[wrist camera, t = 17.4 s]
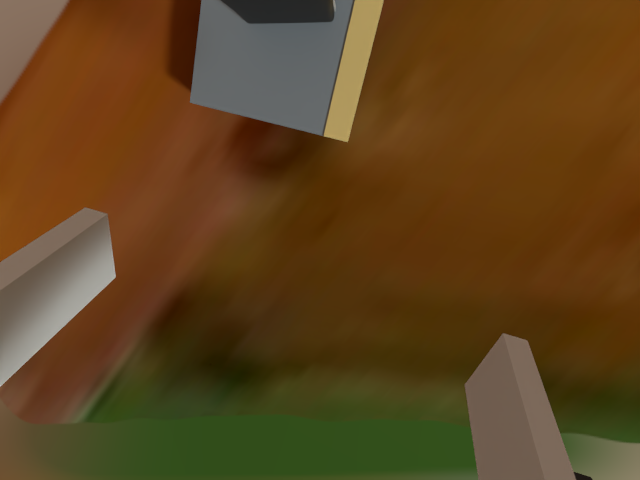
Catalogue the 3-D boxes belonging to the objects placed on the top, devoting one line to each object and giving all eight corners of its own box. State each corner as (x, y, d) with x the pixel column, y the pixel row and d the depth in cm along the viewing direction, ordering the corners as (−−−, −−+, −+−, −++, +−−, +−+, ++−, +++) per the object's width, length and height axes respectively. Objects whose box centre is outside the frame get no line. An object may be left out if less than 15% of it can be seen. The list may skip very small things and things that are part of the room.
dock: (408, -104, 28) (419, -139, 24) (347, 138, 34) (347, 142, 30) (239, -147, 28) (221, -190, 24) (207, 103, 34) (189, 102, 30)
